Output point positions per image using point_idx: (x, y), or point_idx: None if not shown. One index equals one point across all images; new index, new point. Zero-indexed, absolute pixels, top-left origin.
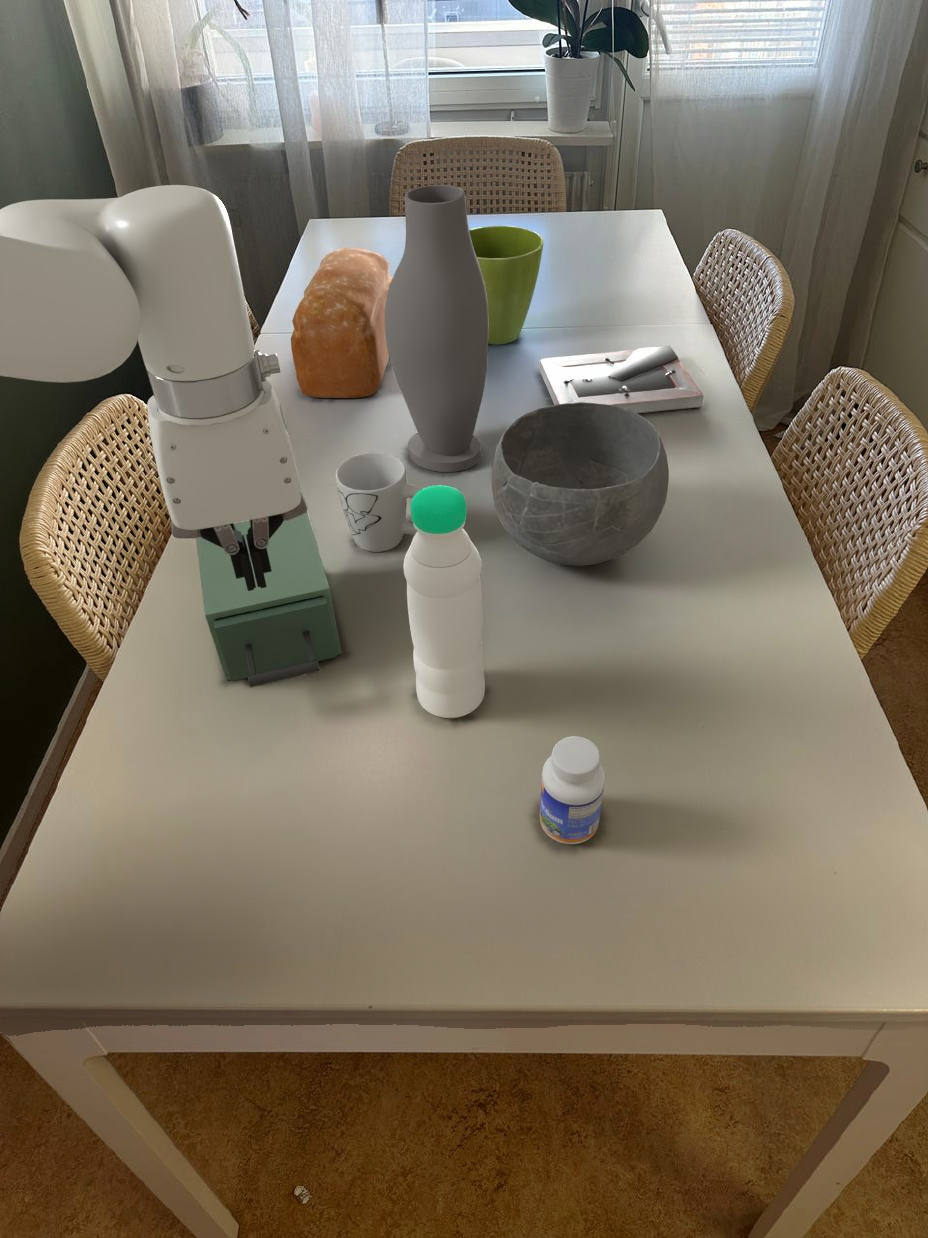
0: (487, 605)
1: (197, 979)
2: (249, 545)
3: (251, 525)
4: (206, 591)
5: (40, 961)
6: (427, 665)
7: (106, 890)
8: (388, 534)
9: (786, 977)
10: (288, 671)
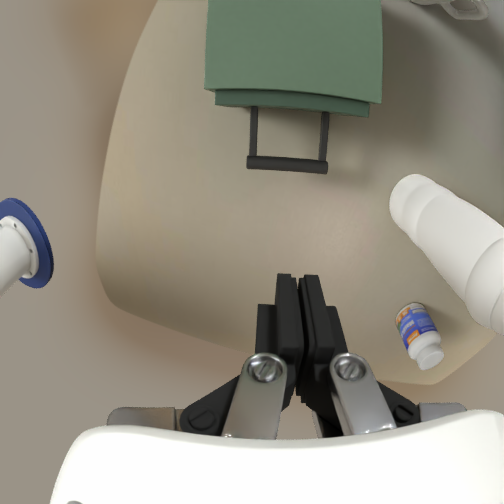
0: (471, 121)
1: (194, 329)
2: (304, 381)
3: (330, 391)
4: (211, 43)
5: (116, 294)
6: (417, 241)
7: (139, 269)
8: (430, 2)
9: (416, 377)
10: (292, 169)
